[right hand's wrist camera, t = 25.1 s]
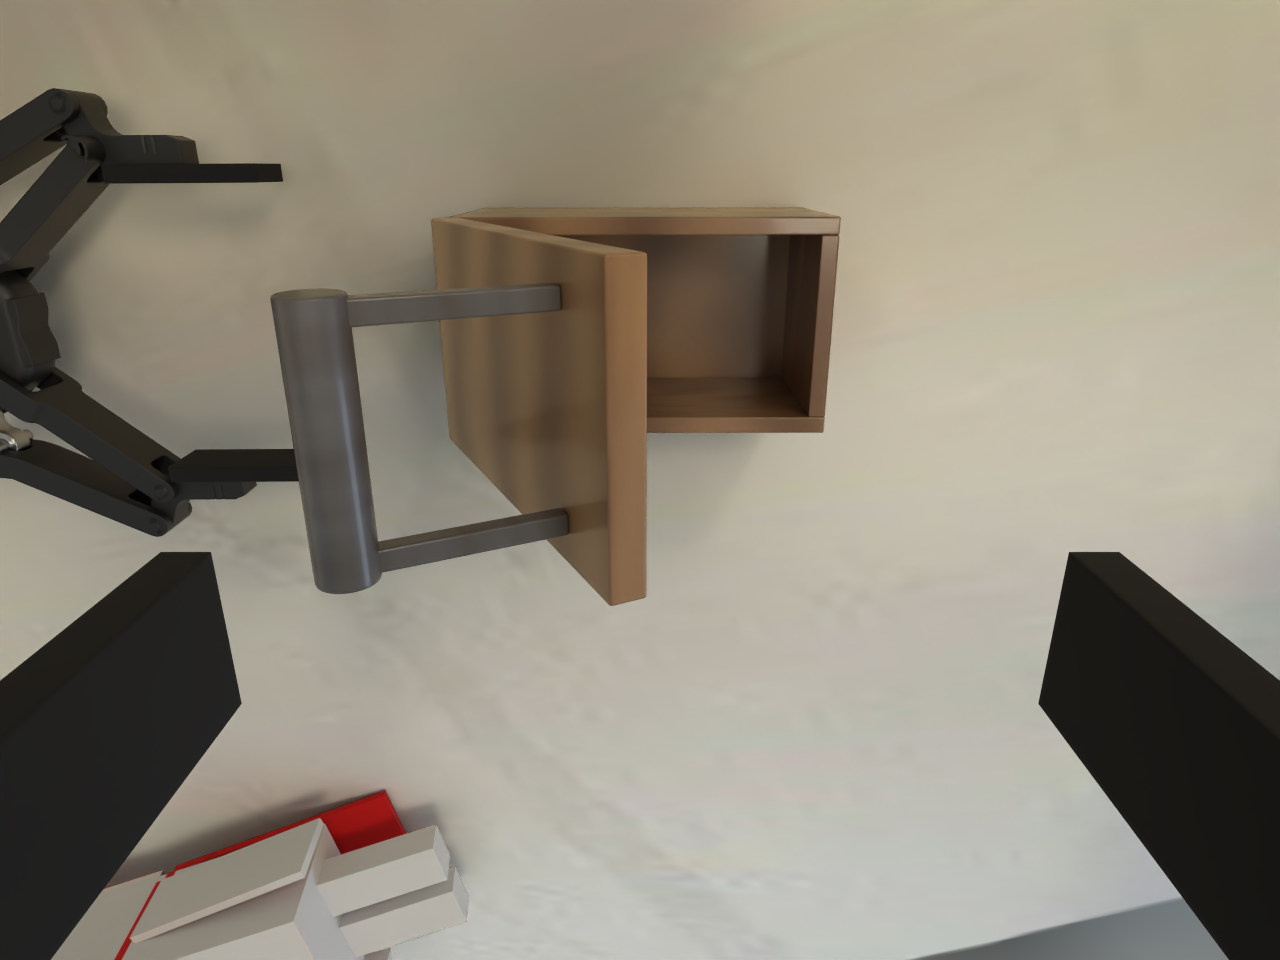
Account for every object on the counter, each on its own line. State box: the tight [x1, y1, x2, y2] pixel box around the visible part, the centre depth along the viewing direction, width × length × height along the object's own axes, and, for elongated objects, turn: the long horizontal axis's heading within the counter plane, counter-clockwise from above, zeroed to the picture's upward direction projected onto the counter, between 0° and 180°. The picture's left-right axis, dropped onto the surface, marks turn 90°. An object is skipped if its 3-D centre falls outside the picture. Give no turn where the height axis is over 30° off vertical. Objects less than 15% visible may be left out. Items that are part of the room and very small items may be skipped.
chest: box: [449, 208, 841, 433], centre depth 41 cm, size 17×10×9 cm, turn 90°
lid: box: [270, 218, 647, 606], centre depth 27 cm, size 17×10×8 cm
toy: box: [51, 791, 469, 960], centre depth 54 cm, size 12×13×30 cm
